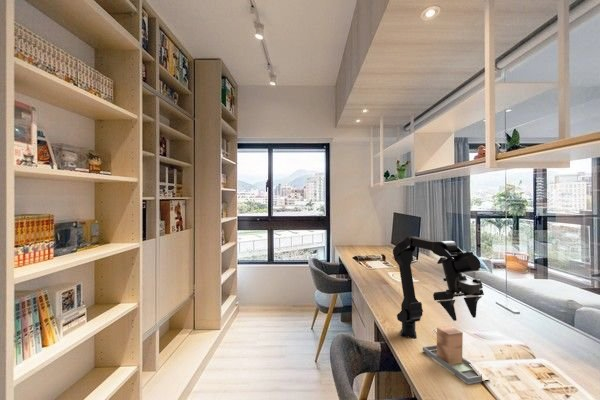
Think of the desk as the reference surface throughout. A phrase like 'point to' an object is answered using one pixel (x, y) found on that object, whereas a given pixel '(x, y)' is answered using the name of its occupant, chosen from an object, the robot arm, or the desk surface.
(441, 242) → the robot arm
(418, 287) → the desk surface
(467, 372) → the trap box
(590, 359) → the desk surface
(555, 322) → the desk surface
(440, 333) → the terracotta block
